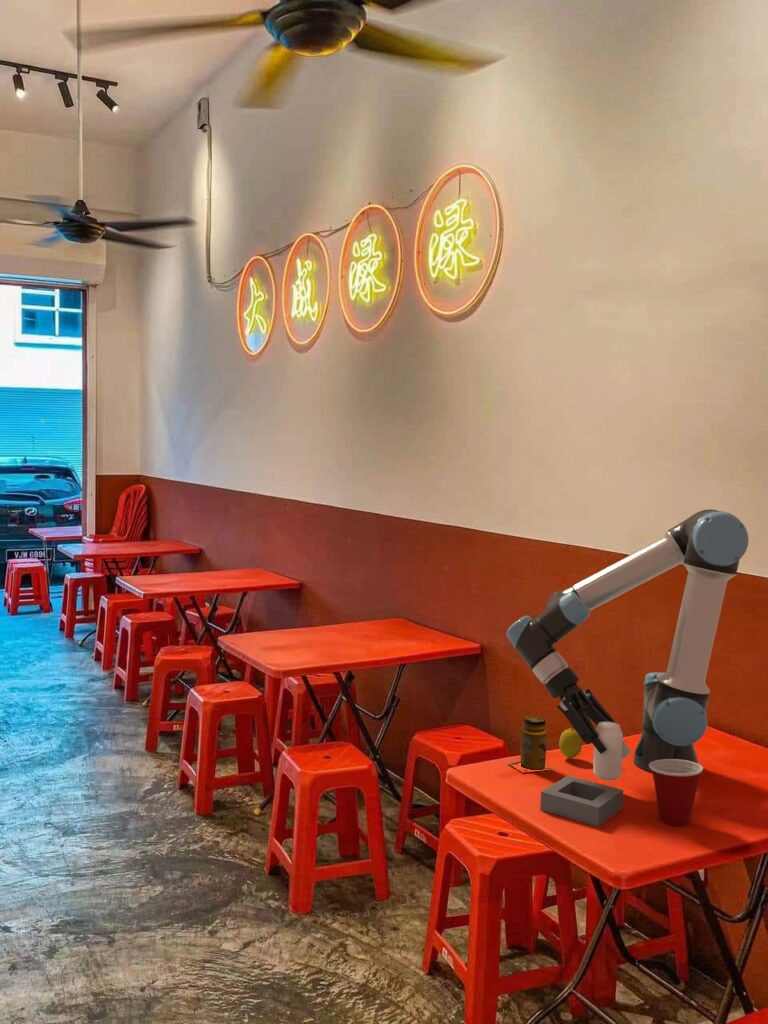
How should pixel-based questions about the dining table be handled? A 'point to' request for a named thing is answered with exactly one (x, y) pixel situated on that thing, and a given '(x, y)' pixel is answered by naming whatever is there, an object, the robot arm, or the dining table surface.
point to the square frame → (582, 800)
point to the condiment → (533, 744)
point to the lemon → (570, 743)
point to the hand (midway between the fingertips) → (621, 759)
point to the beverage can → (615, 741)
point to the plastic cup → (675, 789)
